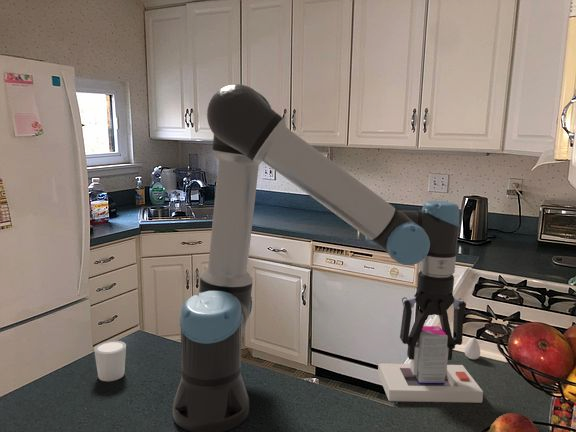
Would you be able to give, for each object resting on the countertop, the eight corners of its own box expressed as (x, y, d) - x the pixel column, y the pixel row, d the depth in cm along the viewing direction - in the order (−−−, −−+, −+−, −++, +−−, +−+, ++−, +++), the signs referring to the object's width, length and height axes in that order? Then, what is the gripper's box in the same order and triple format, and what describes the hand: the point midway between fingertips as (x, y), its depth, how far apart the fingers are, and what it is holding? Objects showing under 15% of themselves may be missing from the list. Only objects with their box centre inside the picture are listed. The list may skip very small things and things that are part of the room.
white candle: (133, 371, 112) (132, 343, 110) (112, 385, 105) (111, 355, 104) (110, 365, 114) (109, 338, 113) (88, 378, 108) (87, 349, 107)
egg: (474, 354, 125) (476, 334, 124) (482, 361, 121) (484, 340, 120) (461, 355, 124) (463, 335, 123) (468, 361, 121) (470, 341, 120)
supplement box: (445, 385, 104) (448, 335, 103) (418, 385, 104) (421, 335, 103) (437, 372, 110) (439, 325, 108) (411, 372, 110) (413, 325, 108)
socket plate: (388, 401, 102) (389, 387, 101) (377, 373, 113) (378, 361, 113) (482, 402, 102) (483, 389, 101) (461, 374, 114) (462, 362, 113)
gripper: (396, 277, 99) (390, 380, 103) (486, 279, 100) (476, 381, 104) (389, 267, 107) (382, 363, 111) (472, 269, 107) (463, 365, 111)
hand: (428, 372), depth 107 cm, fingers open, 6 cm apart
